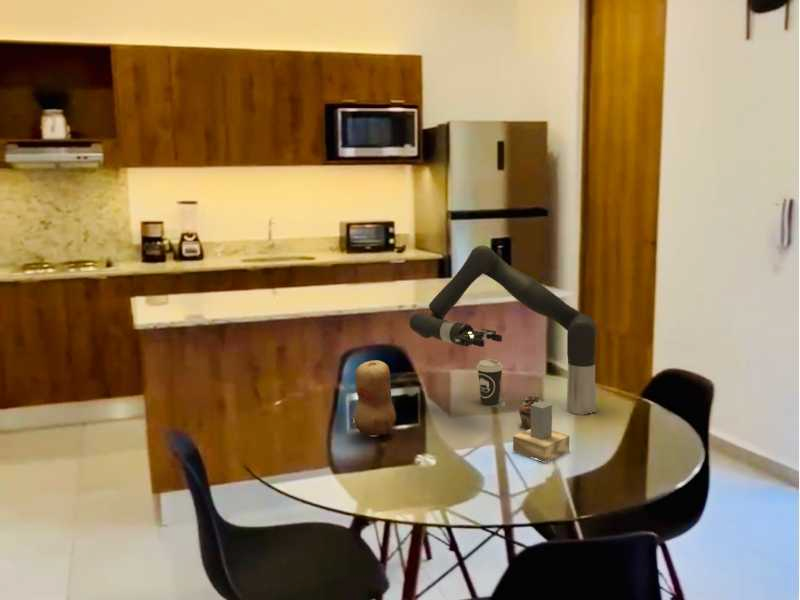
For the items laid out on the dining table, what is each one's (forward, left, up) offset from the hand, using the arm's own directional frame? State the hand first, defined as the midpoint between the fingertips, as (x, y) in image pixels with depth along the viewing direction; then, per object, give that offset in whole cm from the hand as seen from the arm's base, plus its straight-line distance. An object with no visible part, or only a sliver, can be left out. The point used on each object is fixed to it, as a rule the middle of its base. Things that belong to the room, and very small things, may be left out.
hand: (492, 341), depth 249 cm
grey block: (-12, +20, -25) cm, 34 cm away
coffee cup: (-3, -26, -30) cm, 40 cm away
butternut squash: (+39, +3, -30) cm, 49 cm away
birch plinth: (-12, +20, -30) cm, 38 cm away
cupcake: (-14, -1, -30) cm, 33 cm away
